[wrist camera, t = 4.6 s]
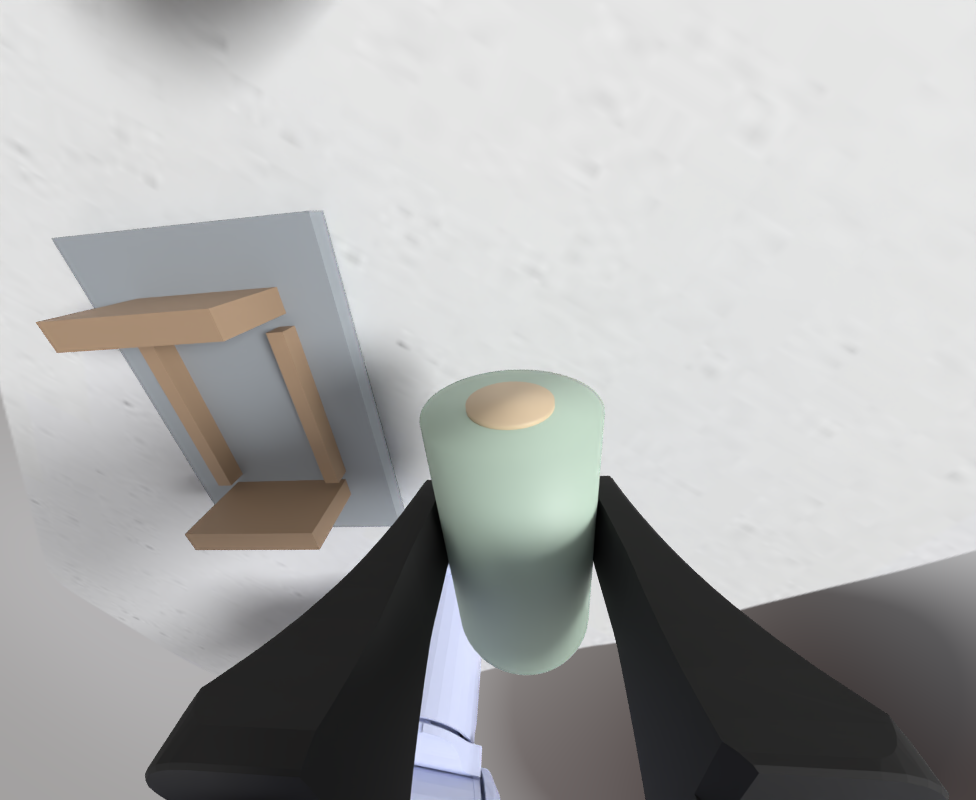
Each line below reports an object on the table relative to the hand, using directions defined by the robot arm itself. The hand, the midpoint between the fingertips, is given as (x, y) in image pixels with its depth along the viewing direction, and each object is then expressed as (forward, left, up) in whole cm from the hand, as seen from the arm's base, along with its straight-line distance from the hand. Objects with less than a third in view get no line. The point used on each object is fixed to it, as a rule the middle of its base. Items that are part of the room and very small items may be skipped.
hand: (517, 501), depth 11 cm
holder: (0, +14, -8) cm, 16 cm away
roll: (0, 0, -1) cm, 1 cm away
